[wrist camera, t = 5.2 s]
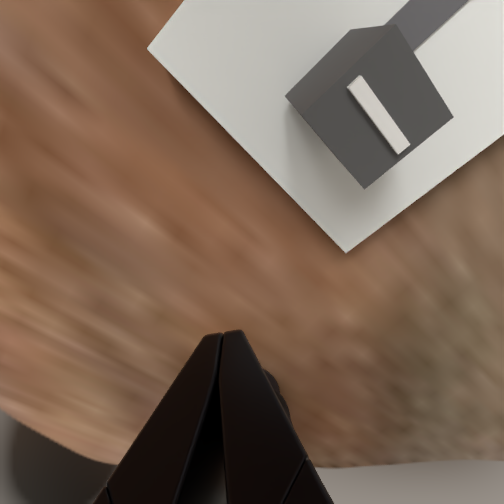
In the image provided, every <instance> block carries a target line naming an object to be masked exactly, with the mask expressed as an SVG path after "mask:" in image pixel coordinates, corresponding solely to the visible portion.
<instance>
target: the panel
mask: <svg viewBox="0 0 504 504" xmlns="http://www.w3.org/2000/svg"><path fill="white" fill-rule="evenodd" d="M392 24H396V25H397V26H398V28H399V30H400V31H401V33H402V34H403V36H404V38H405V39H406V41H407V43H408V44H409V46H410V47H411V49H412V51H413V52H414V54H415V55H416V57H417V59H418V60H419V62H420V63H421V65H422V67H423V68H424V70H425V71H426V73H427V75H428V76H429V78H430V79H431V81H432V83H433V84H434V86H435V88H436V89H437V91H438V92H439V94H440V96H441V97H442V99H443V100H444V102H445V104H446V105H447V107H448V108H449V110H450V112H451V113H452V115H453V116H454V117H453V118H452V119H451V120H450V121H449V122H447V123H446V124H445V125H444V126H442V127H441V128H440V129H439V130H437V131H436V132H435V133H434V134H432V135H431V136H430V137H429V138H428V139H426V140H425V141H424V142H423V143H421V144H420V145H419V146H418V147H416V148H415V149H414V150H413V151H411V152H410V153H409V154H408V155H407V156H405V157H404V158H403V159H402V160H400V161H399V162H398V163H397V164H395V165H394V166H393V167H392V168H391V169H389V170H388V171H387V172H386V173H384V174H383V175H382V176H381V177H379V178H378V179H377V180H376V181H374V182H373V183H372V184H371V185H370V186H368V187H367V188H366V189H365V190H364V189H363V187H362V186H361V185H360V184H359V183H358V182H357V181H356V179H355V178H354V177H353V176H352V175H351V174H350V172H349V171H348V170H347V169H346V168H345V167H344V166H343V164H342V163H341V162H340V161H339V160H338V159H337V158H336V156H335V155H334V154H333V153H332V152H331V151H330V149H329V148H328V147H327V146H326V145H325V143H324V142H323V141H322V140H321V139H320V137H319V136H318V135H317V134H316V133H315V132H314V130H313V129H312V128H311V127H310V126H309V124H308V123H307V122H306V121H305V120H304V119H303V117H302V116H301V115H300V114H299V113H298V111H297V110H296V109H295V108H294V107H293V105H292V104H291V103H290V102H289V101H288V100H287V98H286V97H285V95H286V94H287V93H288V92H289V91H290V90H291V89H292V88H293V87H294V86H295V85H296V84H297V83H298V82H299V81H300V80H301V79H302V78H303V77H304V76H305V75H306V74H307V73H308V72H309V71H310V70H311V69H312V68H313V67H314V66H315V65H316V64H317V63H318V62H319V61H320V60H321V59H322V58H323V57H324V56H325V55H326V54H327V53H328V52H329V51H330V50H331V49H332V48H333V47H334V46H335V45H336V44H337V43H338V42H339V41H340V39H341V38H342V37H343V36H344V35H345V34H346V33H347V32H348V31H349V30H350V29H358V28H367V27H375V26H383V25H392ZM147 49H148V51H149V52H150V53H151V54H152V55H153V56H154V57H155V58H156V59H157V60H158V61H159V62H160V63H161V64H162V65H163V66H164V67H165V68H166V69H167V70H168V71H169V72H170V73H171V74H172V75H173V76H174V77H175V78H176V79H177V80H178V81H179V82H180V83H181V84H182V85H183V86H184V87H185V89H186V90H187V91H188V92H189V93H190V94H191V95H192V96H193V97H194V98H195V99H196V100H197V101H198V102H199V103H200V104H201V105H202V106H203V107H204V108H205V109H206V110H207V111H208V112H209V113H210V114H211V115H212V116H213V117H214V118H215V119H216V120H217V121H218V122H219V123H220V124H221V125H222V127H223V128H224V129H225V130H226V131H227V132H228V133H229V134H230V135H231V136H232V137H233V138H234V139H235V140H236V141H237V142H238V143H239V144H240V145H241V146H242V147H243V148H244V149H245V150H246V151H247V152H248V153H249V154H250V155H251V156H252V157H253V158H254V159H255V160H256V161H257V162H258V163H259V165H260V166H261V167H262V168H263V169H264V170H265V171H266V172H267V173H268V174H269V175H270V176H271V177H272V178H273V179H274V180H275V181H276V182H277V183H278V184H279V185H280V186H281V187H282V188H283V189H284V190H285V191H286V192H287V193H288V194H289V195H290V196H291V197H292V198H293V199H294V200H295V202H296V203H297V204H298V205H299V206H300V207H301V208H302V209H303V210H304V211H305V212H306V213H307V214H308V215H309V216H310V217H311V218H312V219H313V220H314V221H315V222H316V223H317V224H318V225H319V226H320V227H321V228H322V229H323V230H324V231H325V232H326V233H327V234H328V235H329V236H330V237H331V238H332V240H333V241H334V242H335V243H336V244H337V245H338V246H339V247H340V248H341V249H342V250H343V251H344V252H345V253H347V252H348V251H350V250H351V249H352V248H354V247H355V246H356V245H358V244H359V243H360V242H362V241H363V240H364V239H366V238H367V237H368V236H370V235H371V234H372V233H374V232H375V231H376V230H378V229H379V228H380V227H381V226H383V225H384V224H385V223H387V222H388V221H389V220H391V219H392V218H393V217H395V216H396V215H397V214H399V213H400V212H401V211H403V210H404V209H405V208H407V207H408V206H409V205H411V204H412V203H413V202H415V201H416V200H417V199H419V198H420V197H421V196H423V195H424V194H425V193H427V192H428V191H429V190H431V189H432V188H433V187H435V186H436V185H437V184H439V183H440V182H441V181H443V180H444V179H445V178H447V177H448V176H449V175H451V174H452V173H453V172H454V171H456V170H457V169H458V168H460V167H461V166H462V165H464V164H465V163H466V162H468V161H469V160H470V159H472V158H473V157H474V156H476V155H477V154H478V153H480V152H481V151H482V150H484V149H485V148H486V147H488V146H489V145H490V144H492V143H493V142H494V141H496V140H497V139H498V138H500V137H501V136H502V135H504V0H184V1H183V3H182V4H181V5H180V6H179V8H178V9H177V10H176V12H175V13H174V14H173V15H172V17H171V18H170V19H169V21H168V22H167V23H166V24H165V26H164V27H163V28H162V30H161V31H160V32H159V33H158V35H157V36H156V37H155V39H154V40H153V41H152V42H151V44H150V45H149V46H148V48H147Z"/></svg>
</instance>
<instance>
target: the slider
mask: <svg viewBox="0 0 504 504" xmlns="http://www.w3.org/2000/svg"><path fill="white" fill-rule="evenodd" d="M285 97H286V98H287V100H288V101H289V102H290V103H291V104H292V105H293V107H294V108H295V109H296V110H297V111H298V113H299V114H300V115H301V116H302V117H303V119H304V120H305V121H306V122H307V123H308V124H309V126H310V127H311V128H312V129H313V130H314V132H315V133H316V134H317V135H318V136H319V137H320V139H321V140H322V141H323V142H324V143H325V145H326V146H327V147H328V148H329V149H330V151H331V152H332V153H333V154H334V155H335V156H336V158H337V159H338V160H339V161H340V162H341V163H342V164H343V166H344V167H345V168H346V169H347V170H348V171H349V172H350V174H351V175H352V176H353V177H354V178H355V179H356V181H357V182H358V183H359V184H360V185H361V186H362V187H363V189H364V190H365V189H366V188H367V187H368V186H370V185H371V184H372V183H373V182H374V181H376V180H377V179H378V178H379V177H381V176H382V175H383V174H384V173H386V172H387V171H388V170H389V169H391V168H392V167H393V166H394V165H395V164H397V163H398V162H399V161H400V160H402V159H403V158H404V157H405V156H407V155H408V154H409V153H410V152H411V151H413V150H414V149H415V148H416V147H418V146H419V145H420V144H421V143H423V142H424V141H425V140H426V139H428V138H429V137H430V136H431V135H432V134H434V133H435V132H436V131H437V130H439V129H440V128H441V127H442V126H444V125H445V124H446V123H447V122H449V121H450V120H451V119H452V118H453V117H454V116H453V115H452V113H451V112H450V110H449V108H448V107H447V105H446V104H445V102H444V100H443V99H442V97H441V96H440V94H439V92H438V91H437V89H436V88H435V86H434V84H433V83H432V81H431V79H430V78H429V76H428V75H427V73H426V71H425V70H424V68H423V67H422V65H421V63H420V62H419V60H418V59H417V57H416V55H415V54H414V52H413V51H412V49H411V47H410V46H409V44H408V43H407V41H406V39H405V38H404V36H403V34H402V33H401V31H400V30H399V28H398V26H397V25H396V24H392V25H383V26H375V27H367V28H358V29H350V30H349V31H348V32H347V33H346V34H345V35H344V36H343V37H342V38H341V39H340V41H339V42H338V43H337V44H336V45H335V46H334V47H333V48H332V49H331V50H330V51H329V52H328V53H327V54H326V55H325V56H324V57H323V58H322V59H321V60H320V61H319V62H318V63H317V64H316V65H315V66H314V67H313V68H312V69H311V70H310V71H309V72H308V73H307V74H306V75H305V76H304V77H303V78H302V79H301V80H300V81H299V82H298V83H297V84H296V85H295V86H294V87H293V88H292V89H291V90H290V91H289V92H288V93H287V94H286V95H285Z"/></svg>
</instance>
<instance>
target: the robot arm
mask: <svg viewBox="0 0 504 504" xmlns="http://www.w3.org/2000/svg"><path fill="white" fill-rule="evenodd" d="M92 504H334V503H333V501H332V499H331V497H330V495H329V494H328V492H327V490H326V488H325V487H324V485H323V483H322V481H321V479H320V477H319V475H318V474H317V472H316V470H315V468H314V466H313V464H312V462H311V460H309V459H308V455H307V453H306V451H305V449H304V447H303V445H302V443H301V441H300V440H299V438H298V436H297V434H296V432H295V430H294V428H293V426H292V424H291V422H290V420H289V418H288V417H287V415H286V413H285V411H284V409H283V407H282V405H281V403H280V401H279V399H278V397H277V395H276V394H275V392H274V390H273V388H272V386H271V384H270V382H269V380H268V378H267V376H266V374H265V372H264V371H263V369H262V367H261V365H260V363H259V361H258V359H257V357H256V355H255V353H254V351H253V349H252V348H251V346H250V344H249V342H248V340H247V338H246V336H245V334H244V332H243V331H242V330H233V331H227V332H225V333H224V334H223V333H214V334H208V335H205V336H204V337H203V338H202V340H201V341H200V343H199V344H198V346H197V347H196V349H195V350H194V352H193V353H192V355H191V356H190V358H189V359H188V361H187V362H186V364H185V365H184V367H183V368H182V370H181V372H180V373H179V375H178V376H177V378H176V379H175V381H174V382H173V384H172V385H171V387H170V388H169V390H168V391H167V393H166V394H165V396H164V397H163V399H162V400H161V402H160V403H159V405H158V406H157V408H156V409H155V411H154V412H153V414H152V415H151V417H150V418H149V420H148V421H147V423H146V424H145V426H144V427H143V429H142V430H141V432H140V433H139V435H138V436H137V438H136V439H135V441H134V442H133V444H132V445H131V447H130V448H129V450H128V451H127V453H126V454H125V456H124V457H123V459H122V460H121V462H120V463H119V465H118V466H117V468H116V469H115V471H114V472H113V474H112V475H111V477H110V478H109V480H108V481H107V487H103V488H102V490H101V491H100V493H99V495H98V496H97V497H96V499H95V500H94V502H93V503H92Z"/></svg>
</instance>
